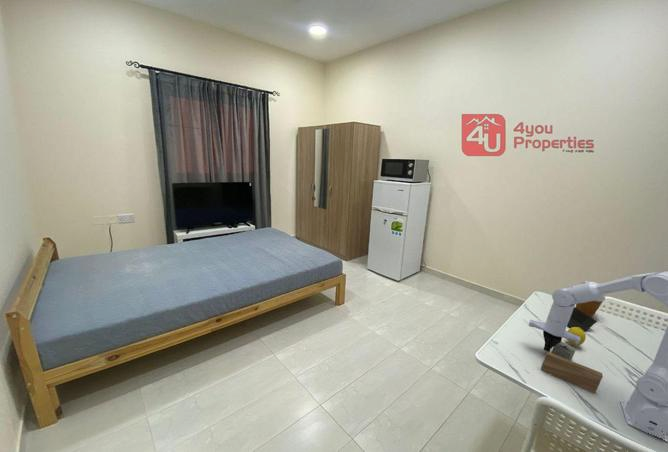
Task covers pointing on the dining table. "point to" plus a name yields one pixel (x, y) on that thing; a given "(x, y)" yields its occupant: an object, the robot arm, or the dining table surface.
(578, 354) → the dining table surface
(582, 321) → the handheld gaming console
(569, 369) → the brown wooden block
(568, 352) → the dice cube
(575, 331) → the lemon
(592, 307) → the disposable coffee cup
